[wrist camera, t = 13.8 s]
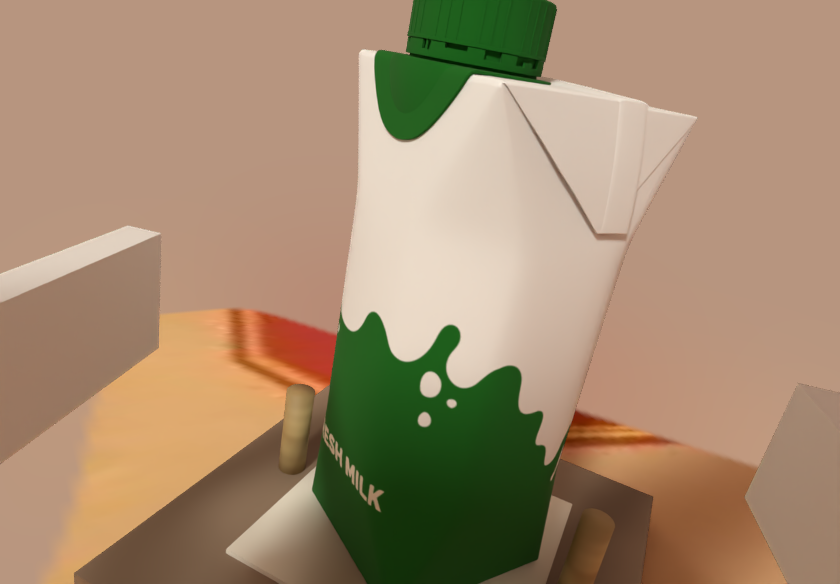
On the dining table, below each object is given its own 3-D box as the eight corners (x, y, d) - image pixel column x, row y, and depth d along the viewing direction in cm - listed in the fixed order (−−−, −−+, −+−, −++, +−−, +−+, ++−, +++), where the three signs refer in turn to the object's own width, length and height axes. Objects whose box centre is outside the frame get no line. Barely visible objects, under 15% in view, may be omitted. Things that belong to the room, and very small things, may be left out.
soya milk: (283, 482, 26) (343, -27, 19) (451, 442, 31) (551, 26, 24) (377, 655, 20) (525, -26, 12) (572, 570, 25) (760, 47, 17)
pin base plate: (643, 519, 31) (679, 430, 29) (578, 944, 15) (646, 813, 13) (343, 393, 37) (356, 311, 35) (75, 605, 21) (70, 479, 19)
